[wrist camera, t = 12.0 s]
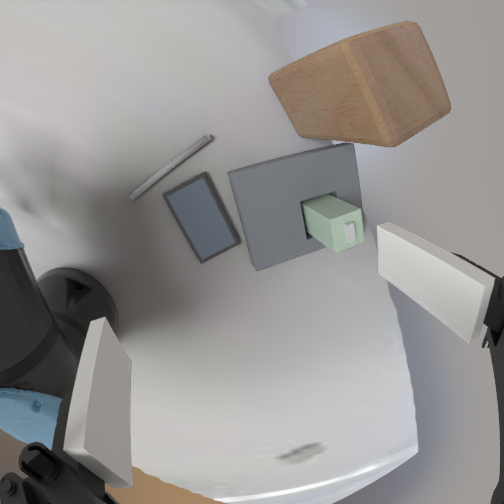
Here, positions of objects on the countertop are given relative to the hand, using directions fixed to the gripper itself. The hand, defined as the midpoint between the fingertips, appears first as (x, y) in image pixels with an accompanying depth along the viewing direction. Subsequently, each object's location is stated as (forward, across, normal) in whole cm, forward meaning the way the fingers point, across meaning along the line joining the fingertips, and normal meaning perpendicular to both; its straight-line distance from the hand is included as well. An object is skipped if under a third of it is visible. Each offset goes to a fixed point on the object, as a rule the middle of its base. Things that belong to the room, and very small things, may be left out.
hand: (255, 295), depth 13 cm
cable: (+28, -2, +4) cm, 29 cm away
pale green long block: (+28, +16, -8) cm, 33 cm away
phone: (+28, 0, -4) cm, 28 cm away
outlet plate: (+28, +14, -6) cm, 32 cm away
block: (+28, +19, +9) cm, 35 cm away
